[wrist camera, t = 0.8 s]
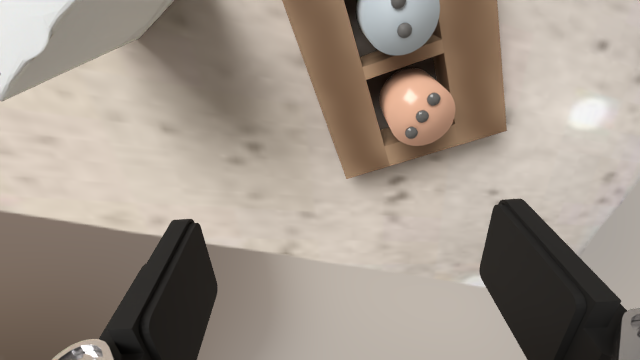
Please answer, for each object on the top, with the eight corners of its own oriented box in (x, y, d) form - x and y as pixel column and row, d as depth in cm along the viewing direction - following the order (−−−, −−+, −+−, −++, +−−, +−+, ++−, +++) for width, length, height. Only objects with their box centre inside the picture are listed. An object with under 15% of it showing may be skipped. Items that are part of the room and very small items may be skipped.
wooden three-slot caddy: (451, -254, 20) (475, -294, 17) (488, 115, 32) (506, 130, 29) (234, -149, 22) (222, -167, 19) (343, 160, 34) (346, 178, 31)
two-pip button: (414, -40, 24) (433, -43, 20) (426, 30, 26) (446, 41, 22) (347, -14, 25) (354, -12, 21) (365, 52, 27) (374, 66, 23)
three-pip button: (431, 59, 27) (451, 73, 23) (441, 113, 30) (460, 135, 26) (372, 79, 28) (382, 97, 24) (386, 131, 30) (397, 154, 26)
